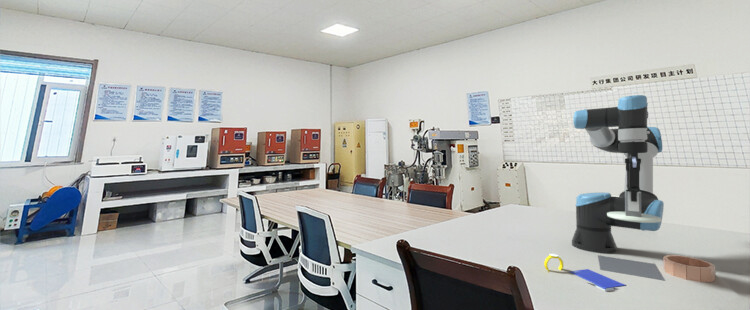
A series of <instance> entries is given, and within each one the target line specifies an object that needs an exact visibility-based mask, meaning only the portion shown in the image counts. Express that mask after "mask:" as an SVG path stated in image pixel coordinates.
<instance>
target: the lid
mask: <svg viewBox="0 0 750 310" xmlns="http://www.w3.org/2000/svg"><path fill="white" fill-rule="evenodd" d="M607 216H608V217H610V218H613V219H618V220H623V221H630V222H641V223H658V222H661V221H663V217H662V218H660V217H658V216H654V215H649V214H643V213H641V192H639V212H637V211H628V192H626V191H625V212H608V213H607ZM661 223H662V222H661Z"/></svg>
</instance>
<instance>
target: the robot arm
mask: <svg viewBox="0 0 750 310" xmlns="http://www.w3.org/2000/svg"><path fill="white" fill-rule="evenodd" d="M572 117H573V120H572V121H573V127H574V128H575V129H576V130H577V129H578V130H585V132H586V133H587V134H588V136H589V141H590V143H591V144H592V146H594V147H595V148H597V149H599V150H601V151H604V152H608V153H613V154H614V153H616V154H623V155H624V156H625V157H626V158H625V157H624V163H625V178H624V190H623V191H622V192H621V193H620V194H619V195H618V196H612V194H611V193H610V192H587V193H580V194H578V195H577V196H576V198H575V199H576V200H575V201H576V202H575V211H576V213H575V215H576V224H575V225H576V229H575V231H574V234H573V237H572V239H571V246H572V247H574V248H575V249H578V250H582V251H585V252H590V253H595V254H596V253H597V254H613V253H614V254H615V253H617V251H618V247H617V244H616V241H615V238H614V236H613V233H612V227H615V228H623V229H633V230H638V231H639V230H641V231H644V232H646V231H649V232H657V231H658V230H659V229H660V228H661V226H662V221H663V220H662V221H661V222H658V223H641V222H630V221H623V220H618V219H613V218H610V217H608V216H607V213H608V212H625V191H626V192H628V211H637V212H639V192H641V213H643V214H649V215H654V216H658V217H660V218H662V219H663V215H664V204H665V203H664V201H663V200H660V199H659V198H658V195H656V194H655V193H654V158H655V157H656V156H657V155H658V153H661V152H662V151H663V140H662V134H661V130H660V129H659V128H658V127H656V126H648V118H649V111H648V97H647V96H646V95H643V94H635V95H627V96H623V97H620V98H618V101H617V106H611V107H599V108H587V109H586V108H585V109H580V110H576V111H575V112H574V113H573V116H572ZM617 127H618V128H617Z"/></svg>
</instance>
